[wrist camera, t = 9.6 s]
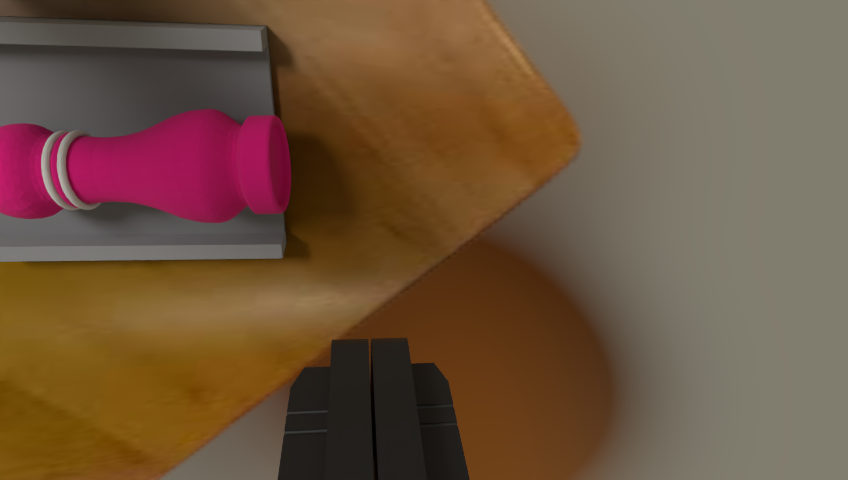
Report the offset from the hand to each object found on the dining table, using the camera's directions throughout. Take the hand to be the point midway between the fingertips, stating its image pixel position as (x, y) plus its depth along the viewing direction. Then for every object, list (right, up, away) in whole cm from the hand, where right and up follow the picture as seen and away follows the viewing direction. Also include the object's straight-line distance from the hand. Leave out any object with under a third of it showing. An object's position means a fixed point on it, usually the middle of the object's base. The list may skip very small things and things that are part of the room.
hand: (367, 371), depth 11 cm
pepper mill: (-8, +8, +23) cm, 26 cm away
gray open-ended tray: (-20, +9, +26) cm, 34 cm away
